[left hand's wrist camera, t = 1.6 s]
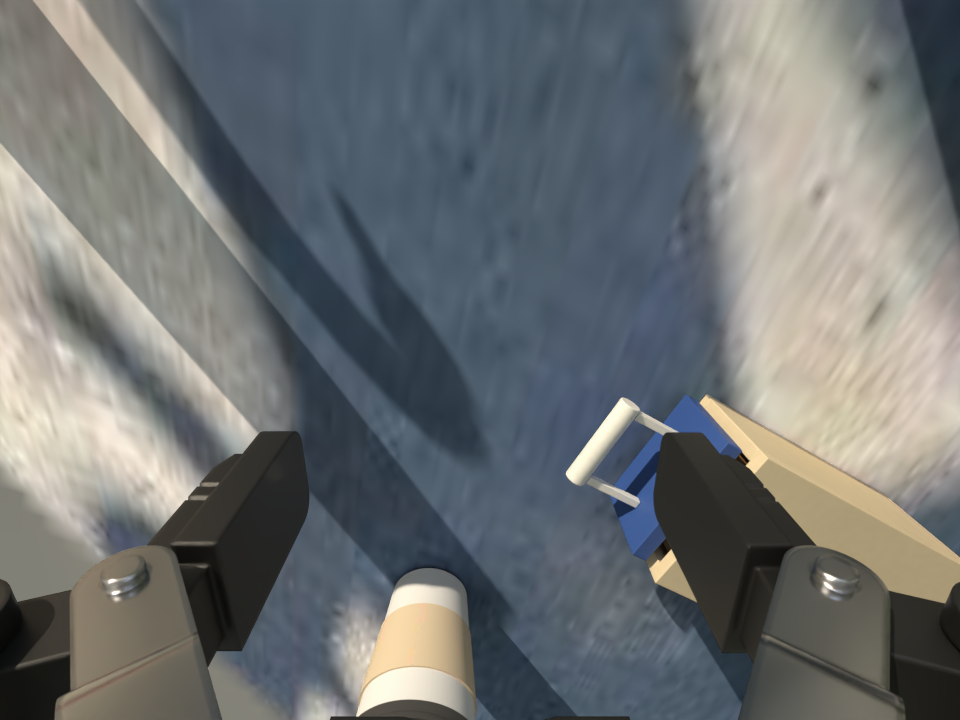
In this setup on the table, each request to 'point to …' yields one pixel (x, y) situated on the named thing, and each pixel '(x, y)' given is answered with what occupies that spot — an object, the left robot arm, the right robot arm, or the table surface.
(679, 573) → the tan open box
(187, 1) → the table surface
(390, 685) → the coffee cup
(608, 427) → the drawer
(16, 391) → the table surface
